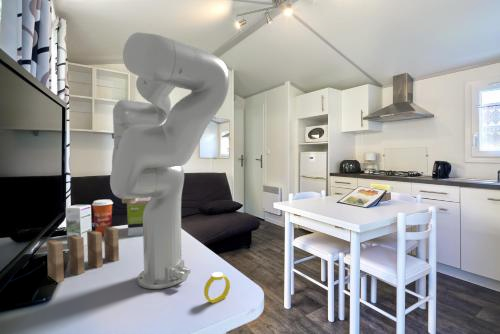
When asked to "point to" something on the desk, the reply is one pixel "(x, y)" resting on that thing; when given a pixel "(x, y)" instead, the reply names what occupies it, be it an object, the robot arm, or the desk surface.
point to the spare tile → (129, 201)
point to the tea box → (136, 216)
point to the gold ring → (213, 277)
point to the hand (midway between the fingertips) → (128, 197)
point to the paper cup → (102, 214)
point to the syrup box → (78, 221)
